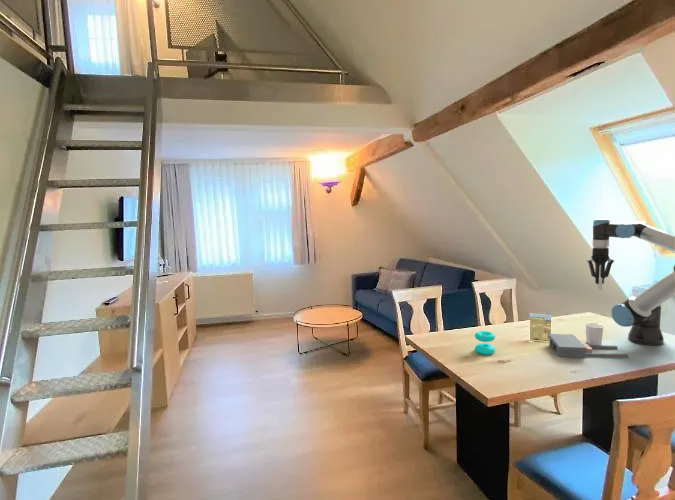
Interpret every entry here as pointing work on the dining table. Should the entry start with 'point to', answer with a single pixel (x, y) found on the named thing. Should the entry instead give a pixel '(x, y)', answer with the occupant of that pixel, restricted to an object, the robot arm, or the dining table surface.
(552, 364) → the dining table surface
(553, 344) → the overhang dock
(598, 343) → the white cup
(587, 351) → the salmon pink tile
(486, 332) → the donuts
